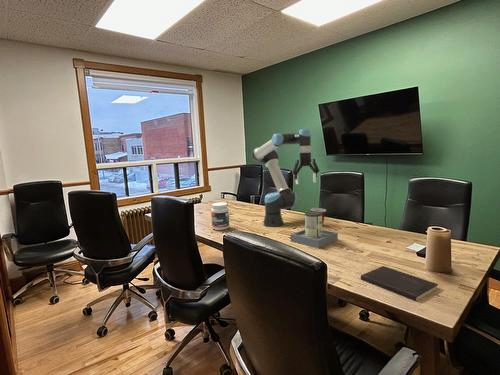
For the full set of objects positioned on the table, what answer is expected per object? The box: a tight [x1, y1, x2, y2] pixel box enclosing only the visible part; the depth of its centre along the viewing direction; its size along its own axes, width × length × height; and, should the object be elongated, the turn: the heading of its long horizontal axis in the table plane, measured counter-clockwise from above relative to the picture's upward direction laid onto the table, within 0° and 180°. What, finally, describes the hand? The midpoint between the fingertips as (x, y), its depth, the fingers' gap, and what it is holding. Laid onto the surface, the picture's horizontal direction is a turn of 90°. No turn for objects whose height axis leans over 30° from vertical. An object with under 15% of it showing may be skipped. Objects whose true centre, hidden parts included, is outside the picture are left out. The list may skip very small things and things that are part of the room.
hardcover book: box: [360, 265, 439, 302], centre depth 118 cm, size 16×23×2 cm
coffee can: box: [304, 210, 323, 238], centre depth 176 cm, size 10×10×14 cm
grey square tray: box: [289, 228, 339, 249], centre depth 177 cm, size 20×20×4 cm
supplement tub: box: [210, 202, 230, 231], centre depth 214 cm, size 13×13×18 cm
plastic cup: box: [310, 207, 327, 227], centre depth 210 cm, size 11×11×12 cm
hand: (305, 183), depth 202 cm, fingers open, 13 cm apart
